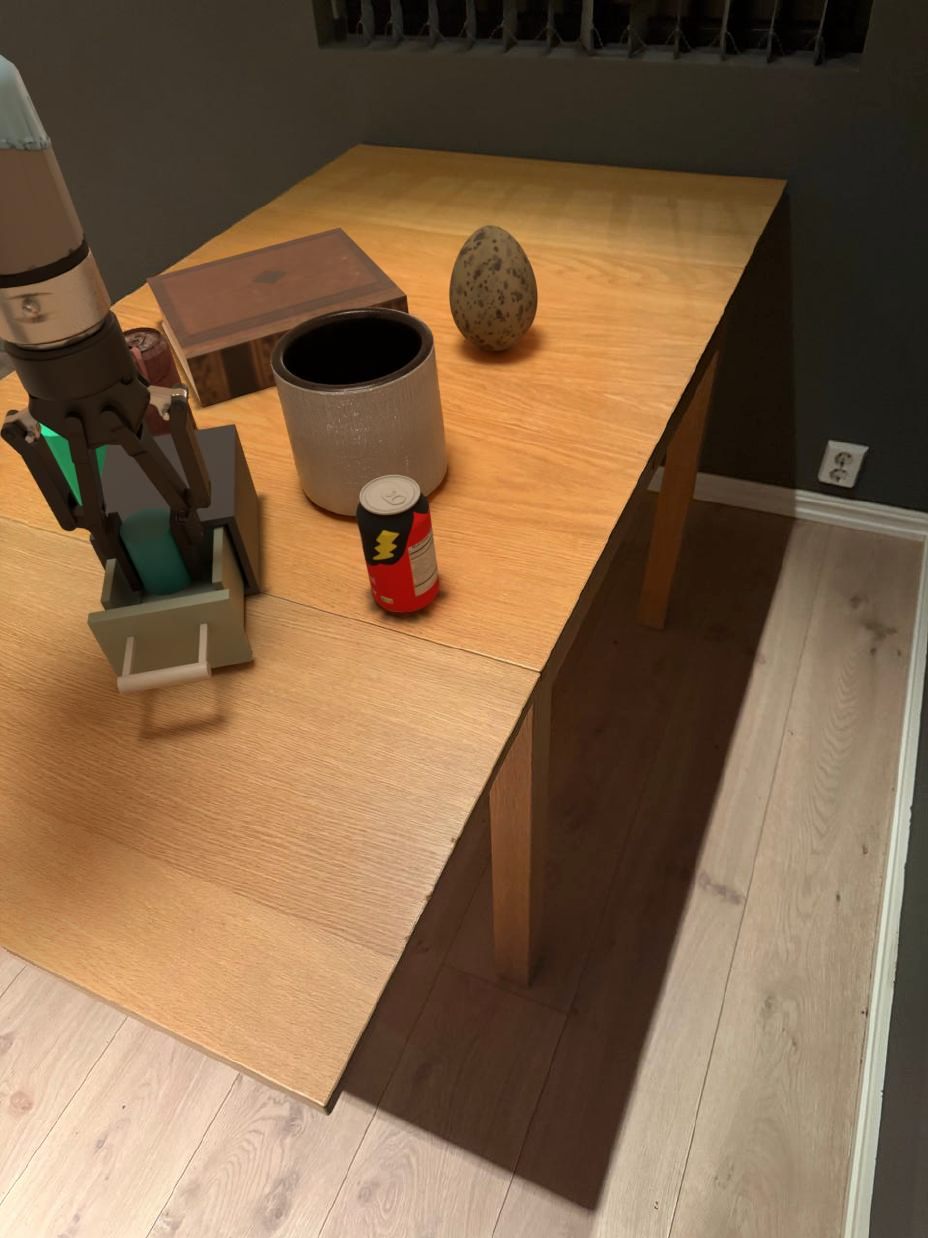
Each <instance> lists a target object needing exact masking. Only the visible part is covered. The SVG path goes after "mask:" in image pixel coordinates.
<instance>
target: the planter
mask: <svg viewBox="0 0 928 1238" xmlns="http://www.w3.org/2000/svg"><path fill="white" fill-rule="evenodd" d="M434 338H435V337H434V334H433V331H432V330H431V328H429V326H428V325H427V324H426V323H425V322H424V321H423V320H421V319H420V318H418V317H417V316H415V315H413V314H410V313H409V314H408V313H405V312H401V311H398V310H393V309H387V308H376V307H362V308H350V309H343V310H338V311H333V312H329V313H326V314H322V315H319V316H316V317H314V318H311V319H309V320H307V321H304V322H302V323H301V324H299V325H297V326H295V327H294V328H292V329H291V330H289V331H288V332H287V333H286V334H284V335H283V336H282V337H281V338H280V339H279V340H278V342H277V343H276V344H275V346H274V348H273V350H272V353H271V358H270V361H271V367H272V371H273V375H274V378H275V382H276V385H275V386H276V391H277V394H278V398H279V402H280V406H281V410H282V414H283V417H284V422H285V428H286V432H287V435H288V441H289V444H290V449H291V452H292V457H293V461H294V464H295V469H296V473H297V477H298V480H299V481H298V482H299V483H300V485H301V488H302V490H303V492H304V494H305V495H306V496H307V498H308V499H309V500H310V501H311V502H313V503H314V504H315V505H317V506H319V507H321V508H322V509H324V510H327V511H330V512H333V513H336V514H338V515H342V516H350V517H356V510H357V506H358V504H359V502H360V492H361V490H362V489H363V487H364V486H365V485H366V484H367V483H369V482H370V481H372V480H374V479H376V478H379V477H382V476H387V475H401V476H406V477H409V478H411V479H413V480H414V481H415V482H416V483H417V484H418V485H419V488H420V492H421V493H422V494H423V495H424V496H425V497H426V498H427V497H428V496H430V495H431V494H432V493H433V492H434V491H435V490H436V489H437V488H438V487H439V485H440V484H441V483H442V481H443V480H444V478H445V475H446V473H447V470H448V469H447V468H448V446H447V438H446V432H445V431H446V430H445V423H444V416H443V405H442V399H441V391H440V382H439V374H438V373H439V372H438V365H437V364H438V363H437V356H436V355H437V354H436V346H435V339H434Z"/></svg>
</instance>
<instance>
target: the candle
mask: <svg viewBox="0 0 928 1238" xmlns="http://www.w3.org/2000/svg"><path fill="white" fill-rule="evenodd" d="M39 424H40V423H39ZM40 425H41V427H42V430H41V433H42V435H43V436H44V438H45V440H46V441H47V443H48V445H49V447H50V449H51V451H52V453H53V455H54V457H55V459H56V460H57V462H58V464H59V466H60V468H61V470H62V472H63V474H64V476H65V478H66V480H67V481H68V483H69V485H70V487H71V489H72V491H73V493H74V495H75V497H76V499H77V500H78V502H79V504H80V505H82V502H81V497H80V492H79V487H78V481H77V476H76V471H75V466H74V463H72V459H71V454H70V449H69V444H68V441H67V440H66V439H64V438H63V437H61V436H59V435H58V434H56V433H55V432H53V431H52V430H50V429H48V428H47V427H45V426H44V425H42V424H40ZM106 447H107V445H104V446H102V447H99V448H97V449H96V454H97V460H98V466H99V472H100V477H101V474H102V468H103V463H104V458H105V452H106Z"/></svg>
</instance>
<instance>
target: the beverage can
mask: <svg viewBox="0 0 928 1238" xmlns="http://www.w3.org/2000/svg"><path fill="white" fill-rule="evenodd" d="M355 519H356V524H357V528H358V531H359V532H358V533H359V539H360V543H361V547H362V551H363V556H364V561H365V565H366V571H367V576H368V581H369V584H370V585H369V586H370V589H371V590H370V591H371V594H372V597H373V599H374V600H375V602H376V603H377V604H378V605H379V606H381V607H382V608H384V609H385V610H387V611H390V612H394V613H412V612H415V611H419V610H421V609H423V608H425V607H426V606H428V605H430V604H431V602H432V601H433V600H434V599H435V598H436V596H437V595H438V593H439V590H440V576H439V568H438V561H437V554H436V553H437V552H436V546H435V539H434V538H435V537H434V530H433V523H432V515H431V508H430V503H429V501H428V498H427V497H425V496H424V495H423V494H422V493H421V492H420V488H419V485H418V484H417V483H416V482H415V481H414V480H413V479H411V478H409V477H406V476H401V475H387V476H382V477H379V478H376V479H374V480H372V481H370V482H369V483H367V484H366V485H365V486H364V487H363V489H362V490H361V492H360V502H359V504H358V506H357V510H356V516H355Z"/></svg>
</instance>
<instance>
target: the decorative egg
mask: <svg viewBox="0 0 928 1238" xmlns="http://www.w3.org/2000/svg"><path fill="white" fill-rule="evenodd" d="M448 293H449V294H448V296H449V298H448V299H449V301H448V302H449V309H450V312H451V316H452V319H453V322H454V324H455V326H456V328H457V329H458V331H459V333H460V334H461V335H462V336H463V337H464V338H465V339H466V340H467V341H468V342H469V343H470V344H471V345H473V346H475V347H477V348H479V349H482V350H485V351H489V352H498V351H505V350H507V349H509V348H512V347H513V346H515V345H516V344H518V343H519V342H521V340H522V339H524V337H525V336H526V335H527V334H528V332H529V331H530V329H531V327H532V325H533V323H534V321H535V318H536V314H537V310H538V300H539V298H538V297H539V293H538V285H537V280H536V275H535V272H534V269H533V267H532V263H531V262H530V259H529V257H528V255H527V254H526V252H525V250H524V248H523V247H522V246H521V244H520V243H519V242H518V241H517V239H516V238H515V237H514V236H513V235H512V234H511V233H510V232H509V231H507V230H506V229H504V228H503V227H500V226H497V225H495V224H494V225H493V224H487V225H484V226H481V227H479V228H478V229H476V230H475V231H474V232H472V233H471V235H469V237H468V238H467V239H466V240H465V242H464V243H463V245H462V246H461V248H460V250H459V252H458V254H457V256H456V258H455V261H454V264H453V267H452V270H451V275H450V281H449V291H448Z"/></svg>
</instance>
